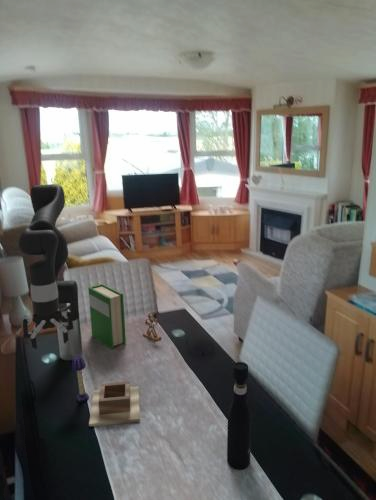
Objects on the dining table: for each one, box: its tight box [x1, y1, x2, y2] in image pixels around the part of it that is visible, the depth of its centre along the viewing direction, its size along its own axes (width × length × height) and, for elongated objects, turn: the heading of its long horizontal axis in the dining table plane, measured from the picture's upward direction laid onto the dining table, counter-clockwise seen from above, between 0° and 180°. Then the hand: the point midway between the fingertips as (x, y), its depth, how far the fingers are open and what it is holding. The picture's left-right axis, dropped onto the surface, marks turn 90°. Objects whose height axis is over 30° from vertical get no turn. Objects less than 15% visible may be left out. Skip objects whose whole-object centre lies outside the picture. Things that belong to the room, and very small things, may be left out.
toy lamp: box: [71, 355, 90, 403], centre depth 137 cm, size 5×5×17 cm
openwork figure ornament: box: [142, 312, 162, 342], centre depth 182 cm, size 9×4×12 cm, turn 47°
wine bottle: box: [226, 361, 252, 471], centre depth 107 cm, size 6×6×30 cm
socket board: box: [88, 380, 141, 427], centre depth 134 cm, size 18×16×6 cm
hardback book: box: [87, 283, 127, 350], centre depth 179 cm, size 18×7×24 cm, turn 41°
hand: (50, 345), depth 122 cm, fingers open, 8 cm apart
